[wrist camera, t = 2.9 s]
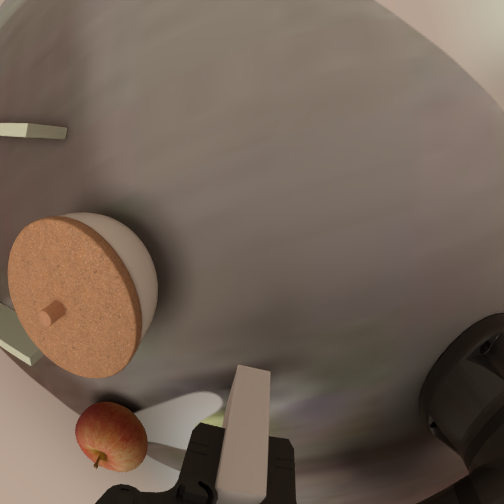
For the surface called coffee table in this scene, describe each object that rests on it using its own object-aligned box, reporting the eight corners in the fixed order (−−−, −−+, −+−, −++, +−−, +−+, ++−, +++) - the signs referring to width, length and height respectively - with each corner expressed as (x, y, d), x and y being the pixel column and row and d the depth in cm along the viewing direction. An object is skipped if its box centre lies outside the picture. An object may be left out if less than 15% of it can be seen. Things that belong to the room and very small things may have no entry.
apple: (136, 445, 29) (114, 492, 21) (84, 405, 28) (53, 449, 20) (170, 425, 27) (148, 482, 19) (111, 378, 26) (74, 430, 18)
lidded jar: (76, 316, 24) (16, 369, 15) (62, 201, 21) (-21, 223, 12) (181, 334, 24) (139, 412, 15) (176, 201, 21) (109, 226, 12)
